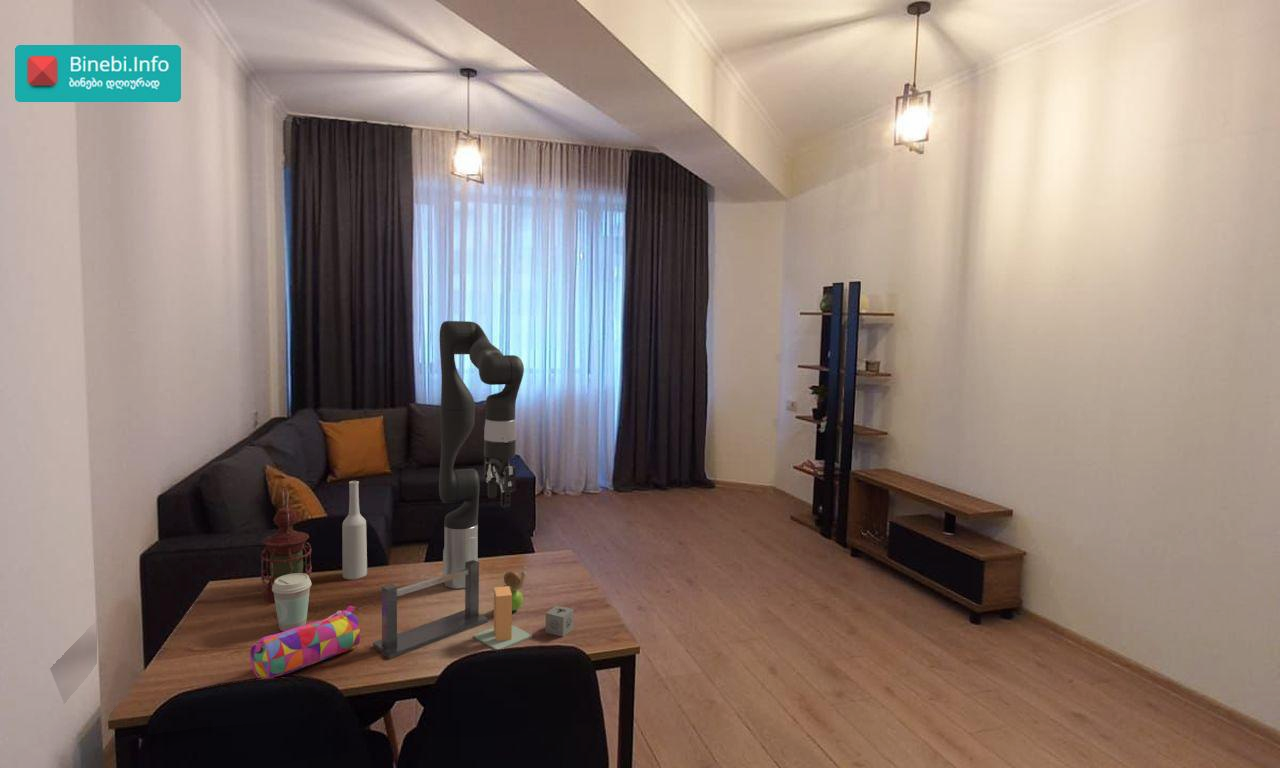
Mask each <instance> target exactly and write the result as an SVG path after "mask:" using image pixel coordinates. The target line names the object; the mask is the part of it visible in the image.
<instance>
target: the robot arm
mask: <svg viewBox="0 0 1280 768" xmlns="http://www.w3.org/2000/svg"><path fill="white" fill-rule="evenodd" d="M438 339H439V354H440V369H441V370H440V371H441V384H440V385H441V386H440V387H441V388H440V389H441V391H440V392H441V393H440V394H441V395H440V397H441V398H440V436H441V437H440V440H441V441H440V442H441V443H440V445H441V446H440V447H441V448H440V463H439V476H438V495H439V498H440V500H441V502H442V503H443V504H454V503H456V504H457V503H462V504H461V505H460V506H459V507H457V508H456V509H454V510H452V511H450V512H448V513H446V515H444V521H443V523H444V536H443V538H444V548H443V549H442V575H446V574H449V573H452V572H456V571H459V570H462V569H465V562H468V561H471V560H475V561H477V562H478V555H479V554H478V551H479V550H478V546H479V545H478V543H479V541H478V538H479V537H478V536H479V534H478V531H479V530H478V529H479V526H478V525H479V521H478V519H479V499H480V475H479V473H478V471H477V470H476V469H475V468H462V469H461V468H460V469H454V466H455V461H456V458H457V456H458V454H459V451H460V449H461V448H462V447H463V445H464V443H465V441H466V440H467V439H468V437H469V435H470V434H471V432H472V430H473V428H474V426H475V419H476V418H475V416H476V415H475V414H476V411H475V407H476V404H475V402H476V401H475V398H474V397H473V395H472V393H471V392H470V389H469V388H468V387H467V385H466V384H465V382H464V380H463V379H462V377H461V375H460V374H459V371H458V368H457V365H456V362H455V361H456V360H455V355H469V360H470V362H471V363H472V365H474V367H475V368H476V369H477V370H478V375H479V379H480V381H481V382H483V383H484V384H485V385H491V386H496V385H505V386H504V387H503V388H502V390H501V391H499V392H496V393H494V394H490V395H488V396H487V397H486V399H485V423H484V429H483V431H484V435H483V455H484V460H483V461H484V463H483V465H484V466H483V478H484V479H486V480H485V481H486V483H487V498H489V499H494V498H496V497H498V485H499V487H500V507H502V508H504V509H505V508H510V507H511V505H512V504H511V499H512V497H511V496H512V492H515V491H516V490H517V487H516V485H517V484H516V483H517V482H516V481H517V480H516V479H517V477H516V476H517V474H516V472H517V471H516V470H517V468H516V465H510V460H511V459H512V458H514V457H515V456H516V446H517V444H516V441H517V440H516V439H517V425H516V403H517V398H518V393H519V390H520V387H521V385H522V380H523V377H524V374H525V373H524V372H525V371H524V370H525V369H524V367H525V366H524V362H523V361H522V359H521V358H520V357H519V355H518V356H517V355H515V354H514V355H512V354H510V355H508V354H504V353H503V352H502V351H501V350H500V349H499V348H498V347H496V346H495V345H494V344H492V343H491V342H490V340H489V339H488V337H487V335H486V332H485V331H484V330H483V328H482V327H481V326H480V325H479V324H478V323H477V322H476V321H475V322H474V321H469V320H467V321H465V320H445V321H443V322H442V323H441V324H440V328H439V338H438ZM443 584H444V586H446V588H450V589H459V590H460V589H465V576H462V577H459V578H455V579H452V580H449V581H446V582H443Z"/></svg>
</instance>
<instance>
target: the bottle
mask: <svg viewBox="0 0 1280 768" xmlns="http://www.w3.org/2000/svg"><path fill="white" fill-rule="evenodd" d="M359 483H360V481H358V480H351V481H349V482H348V484H349V485H348V486H349V488H348V489H349V493H348V494H349V503H348V505H349V506H348V515H347V516H346V517H345V519H344V520H343V522H342V524H341V525H342V527H341V528H342V529H341V530H342V533H341V534H342V536H341V537H342V546H341V547H342V551H341V552H342V556H341V557H342V578H343V579H345V580H358V579H362V578H364V577H366V576H367V575H368V556H367V554H368V552H367V548H368V546H367V545H368V544H367V543H368V541H367V520H366V519H365V518H364V517H363V516H362V514H361V513H360V498H359V492H360V491H359Z"/></svg>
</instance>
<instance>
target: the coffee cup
mask: <svg viewBox="0 0 1280 768" xmlns="http://www.w3.org/2000/svg"><path fill="white" fill-rule="evenodd" d="M303 573H304V572H303ZM303 573H294V574H287V575H284V576H281V577H278V578H277V579H276V580H275V581H274V584H273V586H272V591H273V592H274V598H275V609H276V611H275V612H276V616H277V621H278V623H277V624H278V629H279V630H280V631H282V632H284V631H287V630H290V629H293V628H297V627H300V626H304V625H307V619H308V618H307V617H308V611H309V609H308V608H309V601H310V600H309V599H310V591H311V590H310V589H311V587H312V581H311V579H310V575H309V576H308V574H303Z"/></svg>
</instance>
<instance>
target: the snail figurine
mask: <svg viewBox="0 0 1280 768" xmlns="http://www.w3.org/2000/svg"><path fill="white" fill-rule="evenodd" d="M526 571H527V566H524V567H523V570H522V571H520V575H519V573H517V572H515V571H512V570H511V571H507V572H506V573H505V574H504V576H503V582H504V584H503V587H505V586H509V587H510V590H511V593H512V612H513V611H517V610H518V609H519V608H520V607H522V604H523V601H524V597H523V594H522V592H521V591H519V590H520V589H522V588H523V585H525V584H524V583H525V580H526V576H527V572H526Z"/></svg>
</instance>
